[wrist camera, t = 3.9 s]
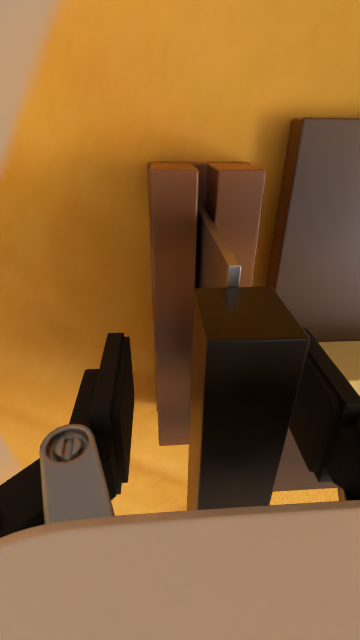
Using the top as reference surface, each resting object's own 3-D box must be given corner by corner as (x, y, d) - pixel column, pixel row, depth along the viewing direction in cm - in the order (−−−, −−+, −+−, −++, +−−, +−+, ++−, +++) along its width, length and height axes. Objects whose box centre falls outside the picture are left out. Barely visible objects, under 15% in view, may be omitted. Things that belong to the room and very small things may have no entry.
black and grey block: (176, 204, 13) (209, 315, 5) (220, 203, 13) (318, 312, 5) (175, 391, 18) (192, 594, 10) (208, 390, 18) (248, 589, 10)
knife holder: (147, 161, 13) (145, 169, 10) (247, 161, 13) (270, 169, 10) (156, 404, 19) (157, 446, 17) (223, 401, 20) (234, 442, 17)
